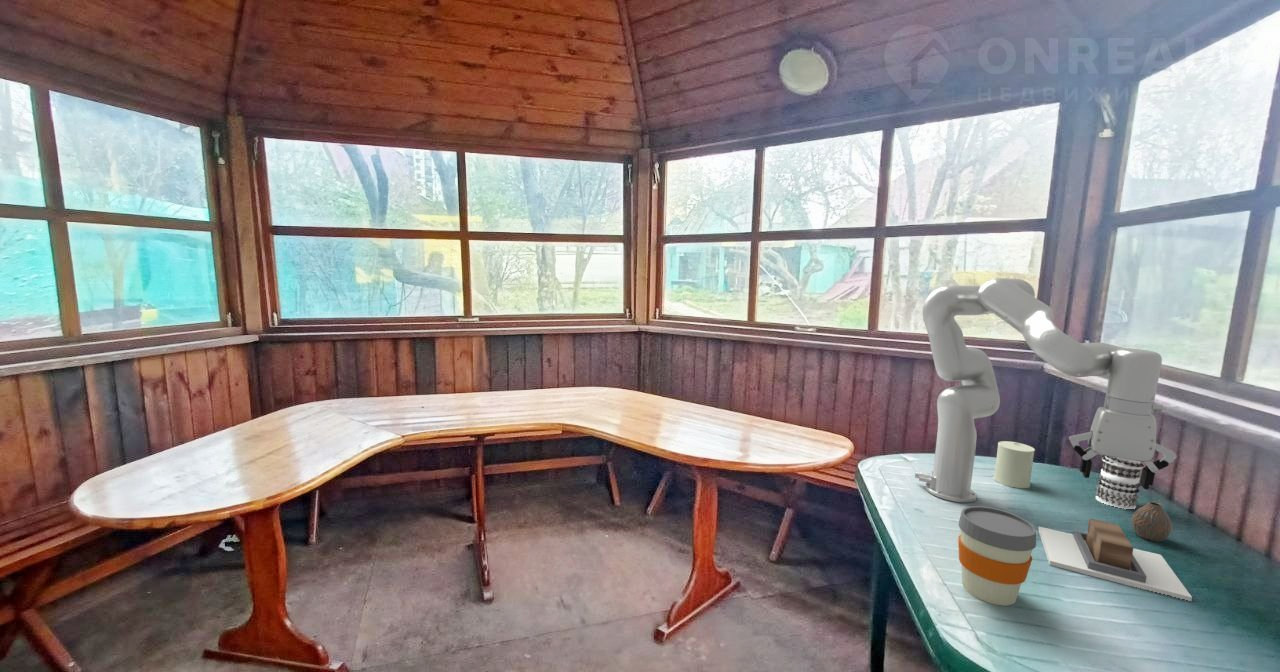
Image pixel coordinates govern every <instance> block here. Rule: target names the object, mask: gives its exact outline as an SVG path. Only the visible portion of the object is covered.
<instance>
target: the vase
mask: <svg viewBox="0 0 1280 672" xmlns="http://www.w3.org/2000/svg"><path fill="white" fill-rule="evenodd" d="M1131 525H1132V529H1133V531H1134V532H1135V533H1136V535H1138V536H1139V537H1141V538H1142V539H1144V538H1145V540H1147V541H1151V542H1156V541H1157V542H1156V543H1158V542H1163V541H1165V540H1167V539H1168V538H1169V536H1170V535H1171V533H1172V531H1173V522H1172V520H1171V518H1170V515H1168V513H1167V512H1166V511H1165V509H1164V508H1163V505H1162V504H1161V503H1159V502H1156V501H1148V502H1147V503H1146V504H1144V505H1142V506H1141V507H1139V508H1138V509H1137V508H1136V510H1135V511H1134V513H1133V514H1132V516H1131Z"/></svg>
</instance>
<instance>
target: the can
mask: <svg viewBox="0 0 1280 672" xmlns="http://www.w3.org/2000/svg"><path fill="white" fill-rule="evenodd" d="M1035 451H1036V449H1035V448H1034V447H1033V446H1030V445H1029V444H1028V445H1027V444H1024V443H1022V442H1021V443H1020V442H1017V441H1009V440H1008V441H1007V440H1002V441H998V442H997V453H996V459H995V467H994V474H993V477H992V478H993V480H994V481H995V482H997V483H999V484H1001V485H1004V486H1005V487H1010V488H1014V487H1015V489H1029V488H1030V487H1031V476H1032V469H1033V463H1034V456H1035Z"/></svg>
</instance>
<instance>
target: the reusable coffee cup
mask: <svg viewBox="0 0 1280 672" xmlns="http://www.w3.org/2000/svg"><path fill="white" fill-rule="evenodd" d="M958 527H959V529H960V530H959V531H960V534H959V535H958V537H957V538H958V540H957V541H958V560H959V563H960V564H961V585H962V587H963V588H964V590H966V592H967V593H969V594H970V595H971V596H973V597H975V598H976V599H977V600H981V601H983V602H986V603H988V604H989V603H990V604H992V605H997V606H1005V607H1006V606H1012V605H1013V604H1015V603H1016V601H1017V599H1018V596H1019V591H1020V589H1021V586H1022V584H1024V582H1025V581H1026V579H1027V576H1028V574H1029V571H1030V566H1031V564H1032V561H1033V557H1032V552H1033V549H1035V548H1036V547H1037V530H1036V527H1035V525H1033V524H1032V523H1031V522H1029V521H1028V520H1026V519H1025V518H1023V517H1021V516H1018V515H1017V514H1015V513H1011V512H1009V511H1006V510H1002V509H999V508H995V507H988V506H980V505H979V506H978V505H975V506H974V505H972V506H966V507H964V508H963V509H962V510H961V513H960V516H959V521H958Z"/></svg>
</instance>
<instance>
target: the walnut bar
mask: <svg viewBox="0 0 1280 672" xmlns="http://www.w3.org/2000/svg"><path fill="white" fill-rule="evenodd" d="M1086 533H1087V539H1086V544H1087V546H1088V548H1089V550H1090V552H1091V554H1092V556H1093V559H1094V561H1095V562H1099V563H1103V564H1107V565H1111V566H1115V567H1119V568H1123V569H1127V570H1130V565H1131V559H1132V553H1133V548H1134V547H1133V545H1132V544H1131V542H1130V541H1129V539H1128V538H1127V536H1126V535H1125V533H1124V531H1123V530H1122V528H1121V527H1120V525H1119V524H1117V523H1113V522H1112V523H1111V522H1108V521H1103V520H1098V519H1095V518H1089V520H1088V527H1087V532H1086Z"/></svg>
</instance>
